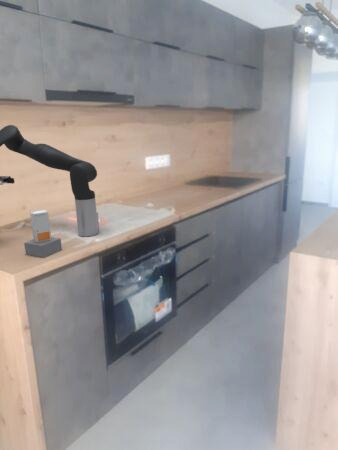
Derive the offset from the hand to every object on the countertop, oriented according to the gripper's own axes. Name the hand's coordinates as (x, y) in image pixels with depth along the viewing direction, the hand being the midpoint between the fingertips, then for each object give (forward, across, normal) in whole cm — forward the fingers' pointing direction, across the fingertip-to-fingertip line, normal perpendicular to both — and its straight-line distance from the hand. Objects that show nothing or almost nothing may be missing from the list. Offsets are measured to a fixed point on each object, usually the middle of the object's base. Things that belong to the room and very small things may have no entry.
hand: (5, 182), depth 151 cm
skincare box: (+17, 0, -23) cm, 29 cm away
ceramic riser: (+17, 0, -28) cm, 33 cm away
